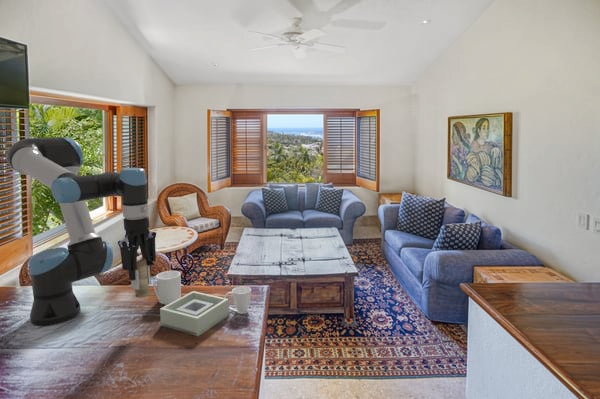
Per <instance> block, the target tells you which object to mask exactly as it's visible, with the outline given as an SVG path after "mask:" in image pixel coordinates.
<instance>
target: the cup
mask: <svg viewBox="0 0 600 399" xmlns="http://www.w3.org/2000/svg"><path fill="white" fill-rule="evenodd" d="M251 288H252V287H250V286H245V285H243V286H241V285H240V286H236V287H234V288H233V289H231V291H228V292H226V294H224V297H223V298H226V297H227V295H232V297H233V301H234V306H235V308H233V307H231V306H230V305H229V310H231V311H234V312H236V314H239V315H244V314H247V313H248V312H249V308H250V305H251V297H252V289H251ZM226 299H227V298H226Z"/></svg>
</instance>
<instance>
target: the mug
mask: <svg viewBox="0 0 600 399" xmlns="http://www.w3.org/2000/svg"><path fill="white" fill-rule="evenodd" d="M181 275H182V274H181V272H180V271H178V270H166V271H162V272H159V273H158V274H156V275H155V280H154V282H153V286H152V287H153V291H154V293H155V295H156V297H157V298H158V303H161V305H163V304H164V306H166V305H168V304H170V303H172V302H173V301H175V300H177V299H179V298H181V297H182V276H181Z"/></svg>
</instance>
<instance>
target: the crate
mask: <svg viewBox="0 0 600 399" xmlns="http://www.w3.org/2000/svg"><path fill="white" fill-rule="evenodd" d="M229 302H230V300H229V298H224V297H221V296H217V295H212V294H207V293H203V292H200V291H195V290H193V291H190V292H189V293H186V294H185V295H183V296H181V298H179V299H177V300H175V301H173V302H172V303H170V304H168V305H164V306H163V307H160V308H159V313H160V314H159V315H160V326H162V327H165V328H168V329H170V330H176V331H179V332H182V333H184V334H185V333H186V334H189V335H193V336H195V337H200V336H201V335H203V334H204V333H205V332H207V331H209V330H210V329H211V328H212V327H214V326H216V325H217V324H218V323H220V322H221V321H222V320H223V321H224V319H226V318H228V317H229V316H230V308H229V306H230V303H229Z"/></svg>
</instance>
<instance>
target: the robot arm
mask: <svg viewBox="0 0 600 399" xmlns="http://www.w3.org/2000/svg"><path fill="white" fill-rule="evenodd" d="M6 160H7V163H8V164H9V166H10V167H11V169H13V170H14V171H15V172H17V173H19V174H21V175H24V176H25V175H26V176H27V175H28V176H29V177H31V178H32V179H34V180H36V181H38V182H39V183H41V184H42V185H45V186H46V187H47V188H49V189H50V191H51V195H52V196H53V198H54V201H56V202H57V203H58V204H59V206H60V211H61V214H62V216H63V220H64V224H65V226H66V227H65V228H66V230H67V234H68V237H69V241H68V243H67V245H66V246H67V248H66V247H62V246H61V247H54V248H49V249H48V248H47V249H45V250H42V251H40V252H38V253H36V254H34V255H33V256H32V257H30V259H29V263H28V264H29V271H28V273H29V276H30V282H31V288H32V289H31V290H32V295H33V302H32V306H31V310H30V314H29V319H30V323H31V325H33V326H39V327H47V326H54V325H58V324H63V323H66V322H68V321H70V320H72V319H75V318H76V317H78V316H79V315H80V313H81V312H82V310H81V309H82V308H81V304H80V302H79V300H78V298H77V296H76V294H75V293H74V291H73V283H74V282H78V281H82V280H84V279H88V278H91V277H95V276H100V275H101V274H104V273H105V272H106V273H107V272H108V271H109V270H110V269H111V267H112V266H113V263H114V250H113V247H112V245H111V244H110V243H109V242H108V241H105V240H103V238H102V236H101V235H99V234H98V233H96V230H95V227H94V224H93V221H92V218H91V214H90V210H89V208H88V205H87V201H88V200H95V199H103V198H108V197H109V198H110V197H121V206H122V217H124V219H123V229H124V231H125V235H124V238H123V239H122V240H119V241H117V244H118V247H119V250H120V251H119V252H120V259H121V266H122V270H124V271H128V278H129V281H130V284H131V289H134V290H135V289H136V290H139V289H140V288H139V275H138V270H136V262H137V259H138V251H139V249H140V253H141V257H142V258H144V259H146V264H147V278H148V286H149V285H151V284H152V281H151V274H152V266H153V265H154V262H156V259H157V256H156V255H157V254H156V238H157V232H155V231H151V230H149V228H150V217H149V215H150V214H149V202H148V199H149V198H148V183H147V182H148V180H147V177H146V176H147V173H146V170H145V169H144V168H142V167H125V168H121V169H120V170H119V172H118V171H117V172H116V171H104V172H102V173H98V174H87V175H78V174H79V172H80V171H81V166H83V163H84V153H83V151H82V148H81V145H80V144H79V143H78V142H77V141H76V140H75V139H73V138H72V137H62V136H57V137H30V138H29V137H28V138H23V139H20V140H17V141H16V142H14V143H13V144H12V145H11V146H10V147H9V149H8V151H7V154H6Z"/></svg>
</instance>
